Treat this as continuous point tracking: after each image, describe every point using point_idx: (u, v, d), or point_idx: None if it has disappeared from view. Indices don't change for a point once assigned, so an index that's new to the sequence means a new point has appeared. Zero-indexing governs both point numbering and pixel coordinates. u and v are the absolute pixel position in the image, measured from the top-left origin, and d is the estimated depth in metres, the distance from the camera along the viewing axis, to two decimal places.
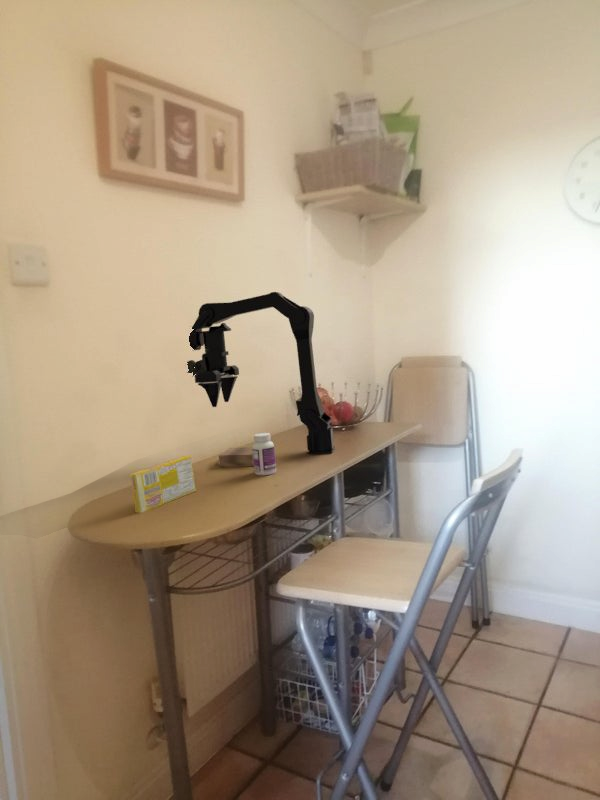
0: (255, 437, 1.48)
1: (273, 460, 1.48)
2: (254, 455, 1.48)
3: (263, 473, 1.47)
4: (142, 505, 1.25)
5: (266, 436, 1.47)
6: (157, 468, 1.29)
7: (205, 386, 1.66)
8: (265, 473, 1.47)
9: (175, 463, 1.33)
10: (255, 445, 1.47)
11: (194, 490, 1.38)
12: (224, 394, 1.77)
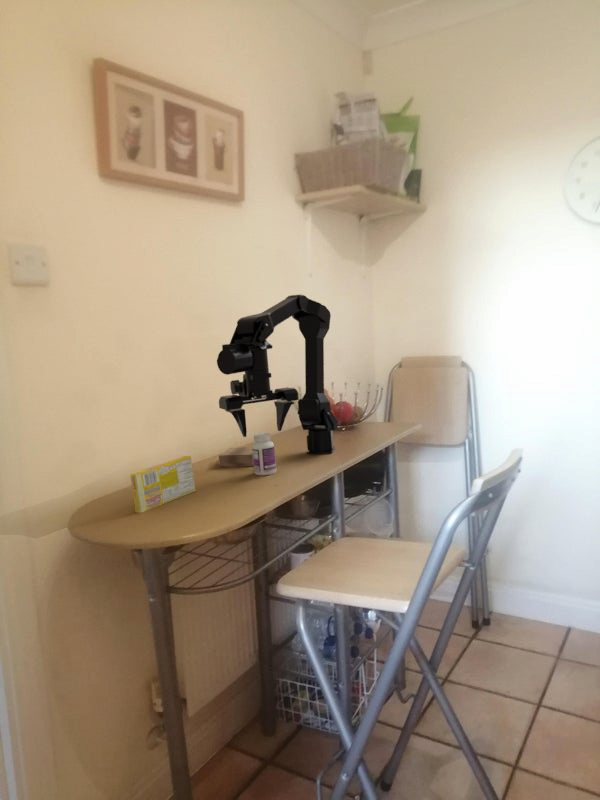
0: (255, 437, 1.48)
1: (273, 460, 1.48)
2: (254, 455, 1.48)
3: (263, 473, 1.47)
4: (142, 505, 1.25)
5: (266, 436, 1.47)
6: (157, 468, 1.29)
7: (232, 412, 1.46)
8: (265, 473, 1.47)
9: (175, 463, 1.33)
10: (255, 445, 1.47)
11: (194, 490, 1.38)
12: (277, 421, 1.51)
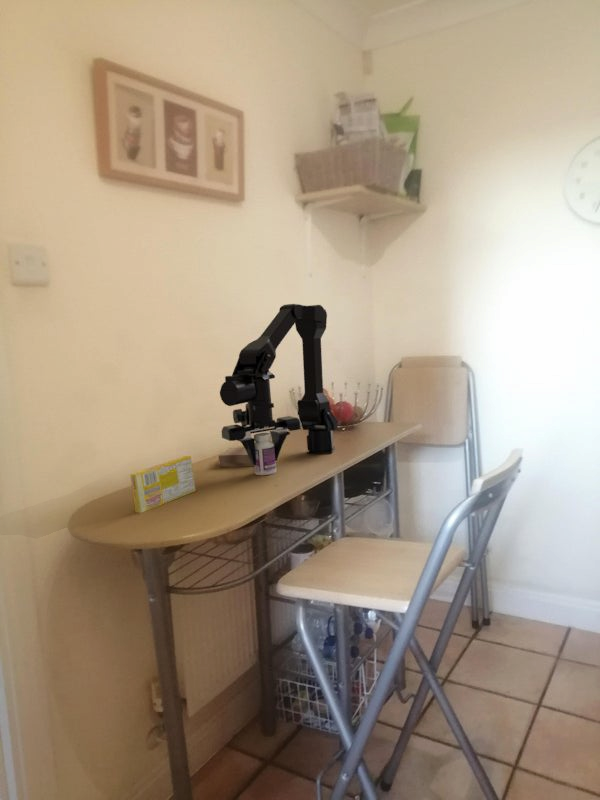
0: (255, 437, 1.48)
1: (273, 460, 1.48)
2: None
3: (263, 473, 1.47)
4: (142, 505, 1.25)
5: (266, 436, 1.47)
6: (157, 468, 1.29)
7: None
8: (265, 473, 1.47)
9: (175, 463, 1.33)
10: (255, 445, 1.47)
11: (194, 490, 1.38)
12: None
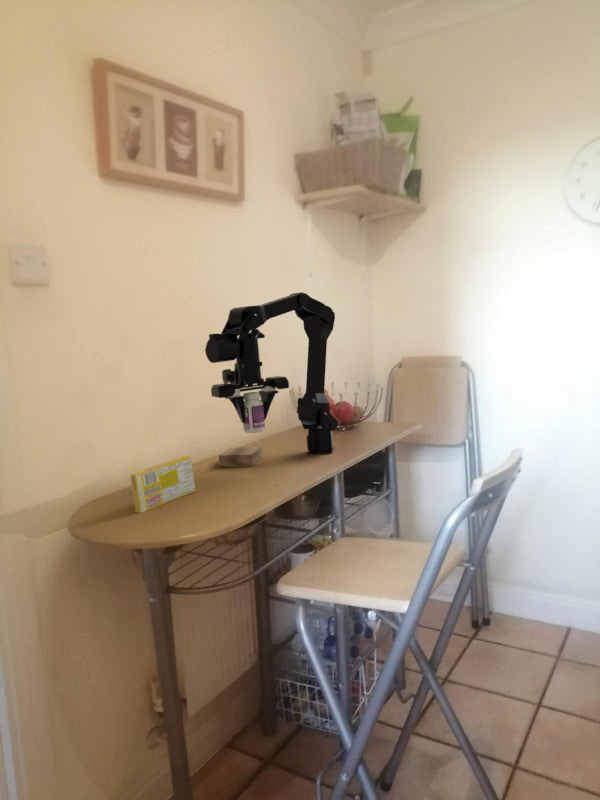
0: (244, 395, 1.50)
1: (262, 418, 1.51)
2: None
3: (252, 430, 1.50)
4: (142, 505, 1.25)
5: (255, 394, 1.50)
6: (157, 468, 1.29)
7: (231, 399, 1.51)
8: (254, 430, 1.50)
9: (175, 463, 1.33)
10: (244, 403, 1.50)
11: (194, 490, 1.38)
12: None
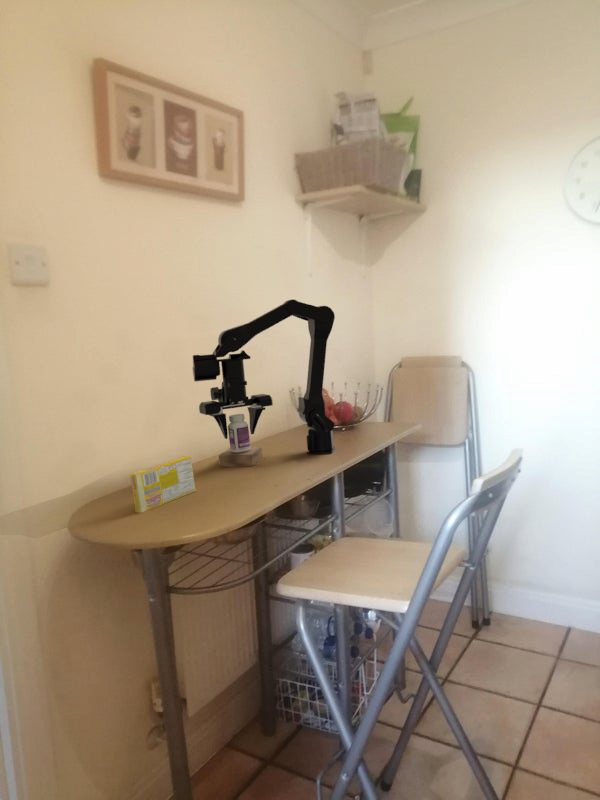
0: (230, 418, 1.61)
1: (247, 438, 1.62)
2: (229, 434, 1.61)
3: (238, 450, 1.61)
4: (142, 505, 1.25)
5: (240, 417, 1.61)
6: (157, 468, 1.29)
7: (215, 416, 1.61)
8: (240, 450, 1.61)
9: (175, 463, 1.33)
10: (230, 425, 1.61)
11: (194, 490, 1.38)
12: (250, 425, 1.65)
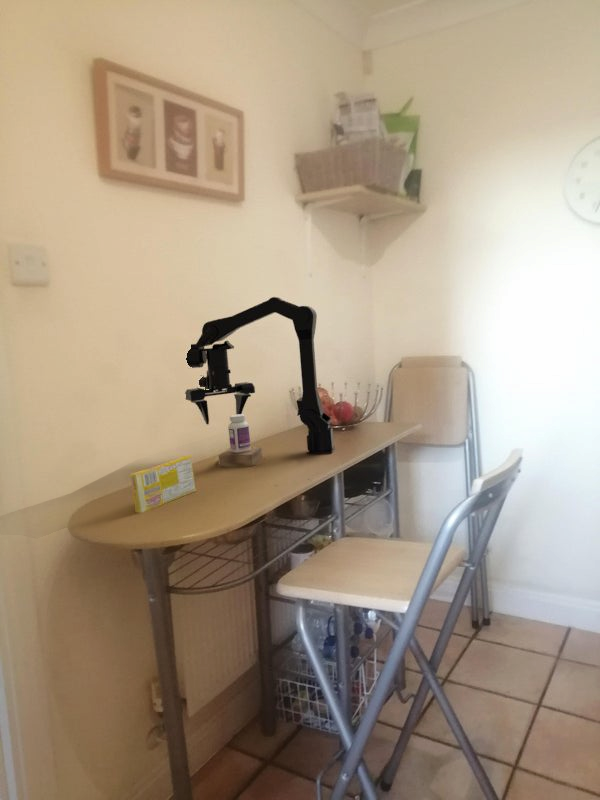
0: (231, 418, 1.61)
1: (247, 439, 1.62)
2: (230, 434, 1.61)
3: (238, 451, 1.61)
4: (142, 505, 1.25)
5: (241, 417, 1.61)
6: (157, 468, 1.29)
7: (197, 403, 1.70)
8: (240, 451, 1.61)
9: (175, 463, 1.33)
10: (231, 425, 1.61)
11: (194, 490, 1.38)
12: (236, 411, 1.74)
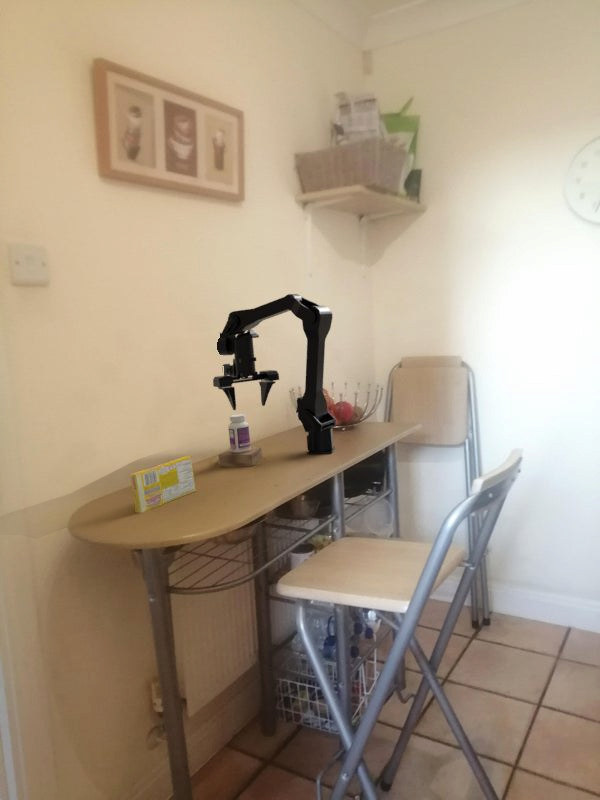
0: (231, 418, 1.61)
1: (247, 439, 1.62)
2: (230, 434, 1.61)
3: (238, 451, 1.61)
4: (142, 505, 1.25)
5: (241, 417, 1.61)
6: (157, 468, 1.29)
7: (224, 390, 1.77)
8: (240, 451, 1.61)
9: (175, 463, 1.33)
10: (231, 425, 1.61)
11: (194, 490, 1.38)
12: (261, 398, 1.82)
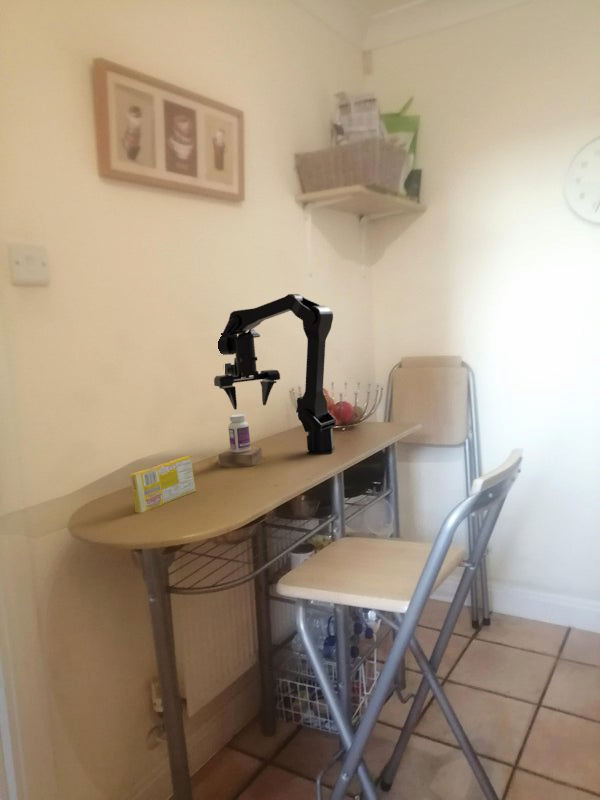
0: (231, 418, 1.61)
1: (247, 439, 1.62)
2: (230, 434, 1.61)
3: (238, 451, 1.61)
4: (142, 505, 1.25)
5: (241, 417, 1.61)
6: (157, 468, 1.29)
7: (225, 389, 1.77)
8: (240, 451, 1.61)
9: (175, 463, 1.33)
10: (231, 425, 1.61)
11: (194, 490, 1.38)
12: (262, 397, 1.82)
